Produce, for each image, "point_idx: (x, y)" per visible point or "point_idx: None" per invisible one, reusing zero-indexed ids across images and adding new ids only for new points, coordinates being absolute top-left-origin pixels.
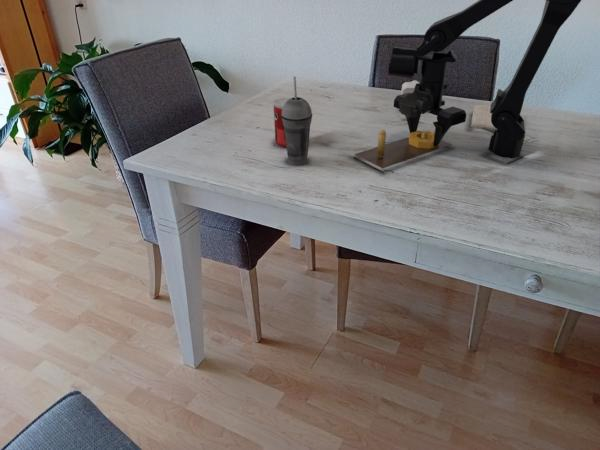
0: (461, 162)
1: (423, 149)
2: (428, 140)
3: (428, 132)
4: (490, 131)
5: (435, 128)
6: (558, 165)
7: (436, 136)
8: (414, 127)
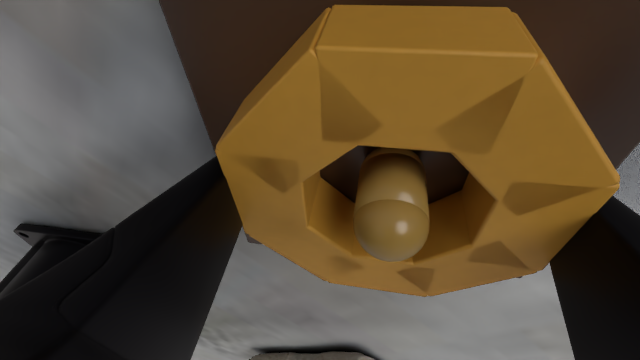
0: (43, 114)
1: (256, 23)
2: (265, 156)
3: (418, 279)
4: (305, 354)
5: (64, 329)
6: None
7: (138, 219)
8: (598, 292)
